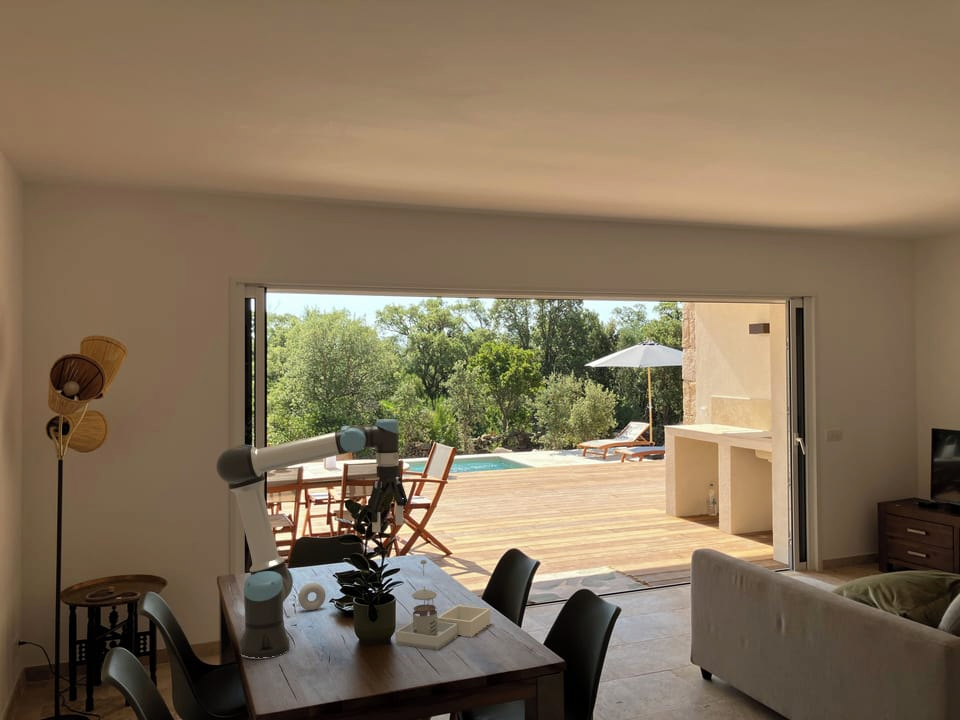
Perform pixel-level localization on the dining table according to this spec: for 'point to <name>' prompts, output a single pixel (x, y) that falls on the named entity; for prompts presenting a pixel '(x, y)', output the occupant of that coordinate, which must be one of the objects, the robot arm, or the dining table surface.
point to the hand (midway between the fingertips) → (388, 528)
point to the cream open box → (467, 619)
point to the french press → (425, 612)
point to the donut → (307, 590)
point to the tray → (427, 636)
